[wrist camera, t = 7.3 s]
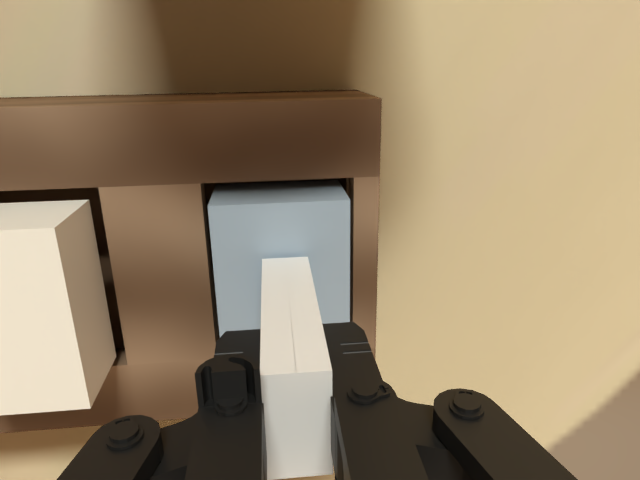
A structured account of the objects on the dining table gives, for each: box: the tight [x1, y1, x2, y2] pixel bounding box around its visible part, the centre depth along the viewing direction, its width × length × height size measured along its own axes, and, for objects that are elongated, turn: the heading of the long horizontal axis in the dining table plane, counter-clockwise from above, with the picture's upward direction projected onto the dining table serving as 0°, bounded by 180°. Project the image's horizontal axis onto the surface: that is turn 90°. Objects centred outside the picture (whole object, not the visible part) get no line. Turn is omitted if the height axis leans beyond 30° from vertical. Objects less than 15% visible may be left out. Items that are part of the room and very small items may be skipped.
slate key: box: [208, 179, 350, 337], centre depth 19 cm, size 6×4×3 cm
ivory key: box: [0, 200, 116, 416], centre depth 16 cm, size 6×4×3 cm
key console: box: [0, 90, 382, 433], centre depth 20 cm, size 12×24×5 cm, turn 91°
